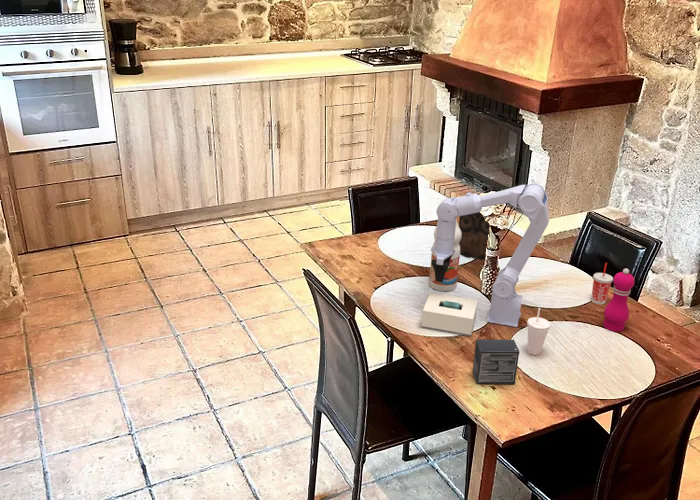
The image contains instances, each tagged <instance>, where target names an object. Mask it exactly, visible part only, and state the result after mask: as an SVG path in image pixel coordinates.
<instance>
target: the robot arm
mask: <svg viewBox="0 0 700 500" xmlns="http://www.w3.org/2000/svg"><path fill="white" fill-rule="evenodd" d="M548 200H549V196H548V194H547V192H546V190H545V189H544V187H543V185H541V184H538V183H529V184H519V185H517V186H514V187H510V188H506V189H503V190H499V191H494V192H492V193H488V194H484V195H479V194H478V193H472V192H467V193H466V195H462V196H457V197H456V196H452V197H446V198H444V199H443V200H442V201H441V202H440V203H439V204H438V206H437V208H436V212H435V213H436V215H437V222H436V227H437V231H436V241H435V240H434V242H435V247H433V246H431V248H430V251H431V252H432V251H434V253H435V255H436V257H437V260H435V259H432V262H431V261H430V265H431V264H432V266H433V268H434V272H435V279H436V281H438V282H443V279H444V276H445V272H446V271H447V269H448V267H449V265H450V263H449V262H450V259H451V257H452V256H453V254H454V252H455V250H454V249H453V248H454V238H455V229H456V217H460V216H463V215H468V214H473V213H477V212H480V211H481V209H482V207H492V206H498V205H503V204H509V205H510V206H512V207H513V208H514V209H517V207H519V209H520V210H521V211H522V213H523V214H524V215H526V216H527V218H528V220H529V225H528V226H527V228H526V231H525V232H524V234H523V236H522V238H521V240H520V241H519V242H518V244H517V247H516V248H515V250H514V252H513V254H512V255H511V257H510V259H509V261H508V262H507V264H506V266H505V267H504V268H502V269H501V270H499V272H498V273H497V277H496V278H495V281H494V282H493V284H492V290H491V292H492V293H491V298H490V306H489V309H488V313H487V317H486V322H487V323H493V324H495V325H496V324H498V325H503V326H508V327H515V328H517V327H519V320H520V319H521V317H522V316H521V314H522V312H521V308H522V300H523V295H522V294H518V293H517V291H516V285H517V283H518V282H519V275H520V274H521V272H522V270H523V269H524V267H525V265H526V263H527V261H528V260H529V258H530V257H531V254H532V253H533V252H534V249H535V248H536V246H537V245H538V243H539V240H540V239H541V238H542V236H543V234H544V233H545V231H546V229H547V227H548V226H549V222H550V213H549V212H550V211H549V203H548V202H549V201H548Z"/></svg>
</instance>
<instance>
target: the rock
mask: <svg viewBox="0 0 700 500" xmlns="http://www.w3.org/2000/svg"><path fill="white" fill-rule="evenodd" d="M458 219H459V221H458V225H459V228H460V230H461V232H462V237H461V240H460V242H459V245H460V256H462V257H464V258H467V259H469V258H470V259H474V260H476V259H477V260H481V261H483V260H485V252H486V247H487V240H488V234H489V227H490V226H489V223H488V222H486V221H485V219H484V217H483V215H482V214H481V213H480V212H477V213H473V214H468V215H463V216H459V218H458Z"/></svg>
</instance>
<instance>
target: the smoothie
mask: <svg viewBox="0 0 700 500" xmlns="http://www.w3.org/2000/svg"><path fill="white" fill-rule="evenodd" d="M540 314H541V308H539V307H538V309H537V315H536V316H535V317H534V316H533V317H530V318H528V320H527V322H526V326H527V353H528V354H530V355H532V356H538V355H541V353H542V350H543V346H544V344H545V340H546V337H547V335H548V331H549V330H550V329H551V322H550V321H549V320H547V319H546V318H543V317H540Z"/></svg>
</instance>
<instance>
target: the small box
mask: <svg viewBox="0 0 700 500" xmlns="http://www.w3.org/2000/svg"><path fill="white" fill-rule="evenodd" d="M473 355H474V356H473V362H472V363H473V364H472V370H471V371H472V375H473V378H474V381H475V384H476V385H516V378H517V371H518V364H519V356H520V350H519V347H518V346H517V343H516V341H515V340H514V339H487V338H486V339H479V338H478V339H475V346H474V354H473Z"/></svg>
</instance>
